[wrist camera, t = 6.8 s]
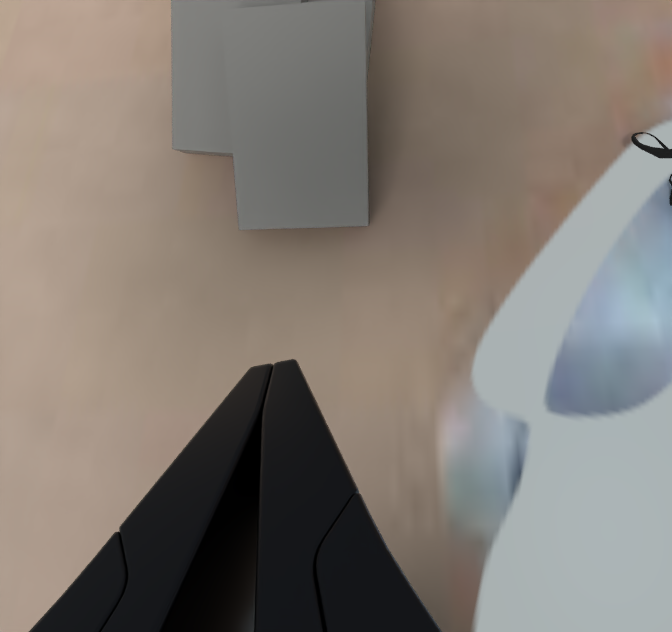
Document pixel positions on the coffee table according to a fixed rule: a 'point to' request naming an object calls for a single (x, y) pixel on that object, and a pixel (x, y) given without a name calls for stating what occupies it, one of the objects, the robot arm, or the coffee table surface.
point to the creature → (655, 152)
